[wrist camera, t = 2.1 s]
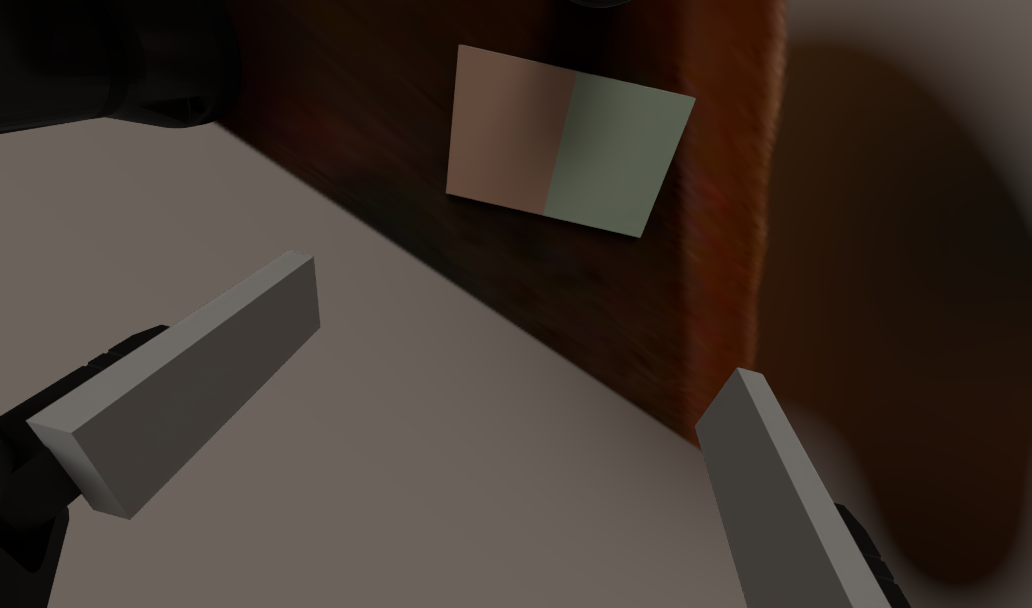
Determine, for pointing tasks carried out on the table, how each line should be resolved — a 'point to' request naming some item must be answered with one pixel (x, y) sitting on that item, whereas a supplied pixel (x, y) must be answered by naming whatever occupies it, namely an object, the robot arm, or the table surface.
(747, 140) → the table surface
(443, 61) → the table surface
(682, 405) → the table surface
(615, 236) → the table surface
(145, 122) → the robot arm
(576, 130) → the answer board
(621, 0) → the drinking cup
